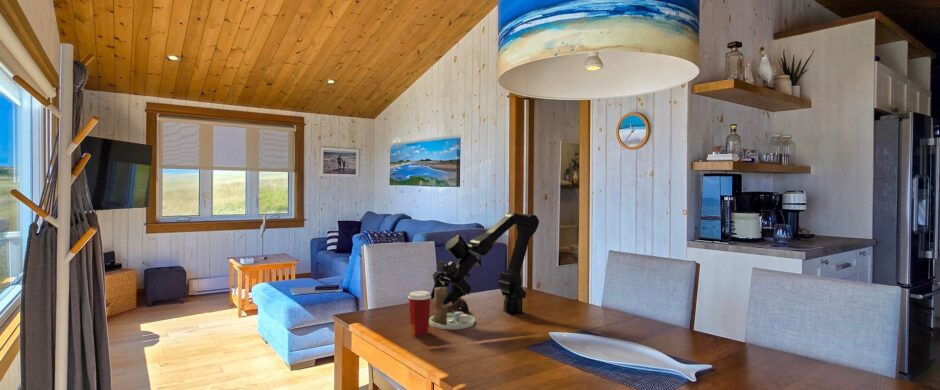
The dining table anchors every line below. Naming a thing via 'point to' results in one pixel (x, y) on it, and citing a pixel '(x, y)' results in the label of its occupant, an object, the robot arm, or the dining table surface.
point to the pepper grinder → (440, 306)
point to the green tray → (452, 322)
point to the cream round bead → (463, 318)
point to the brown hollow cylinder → (458, 305)
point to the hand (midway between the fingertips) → (437, 301)
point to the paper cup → (419, 312)
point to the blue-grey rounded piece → (457, 315)
